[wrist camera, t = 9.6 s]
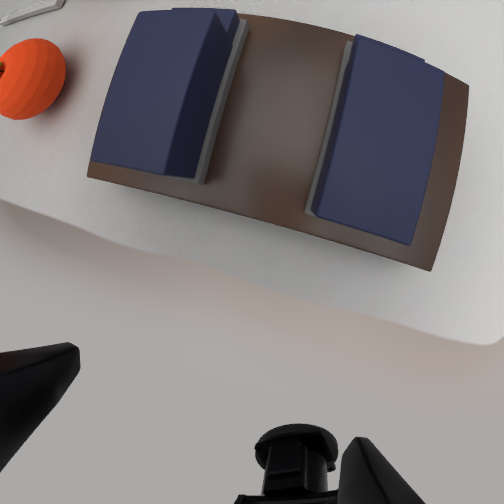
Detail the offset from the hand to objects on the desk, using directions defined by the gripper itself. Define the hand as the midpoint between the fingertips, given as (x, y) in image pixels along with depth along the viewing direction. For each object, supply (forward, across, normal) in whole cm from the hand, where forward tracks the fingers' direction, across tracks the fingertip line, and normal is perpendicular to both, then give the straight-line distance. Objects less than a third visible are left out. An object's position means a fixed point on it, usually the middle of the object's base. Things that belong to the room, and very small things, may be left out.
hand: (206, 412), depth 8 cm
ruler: (+12, +32, -22) cm, 40 cm away
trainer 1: (+8, +6, -10) cm, 14 cm away
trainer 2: (+8, -3, -10) cm, 13 cm away
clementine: (+12, +22, -11) cm, 27 cm away
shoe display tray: (+12, +1, -10) cm, 16 cm away
